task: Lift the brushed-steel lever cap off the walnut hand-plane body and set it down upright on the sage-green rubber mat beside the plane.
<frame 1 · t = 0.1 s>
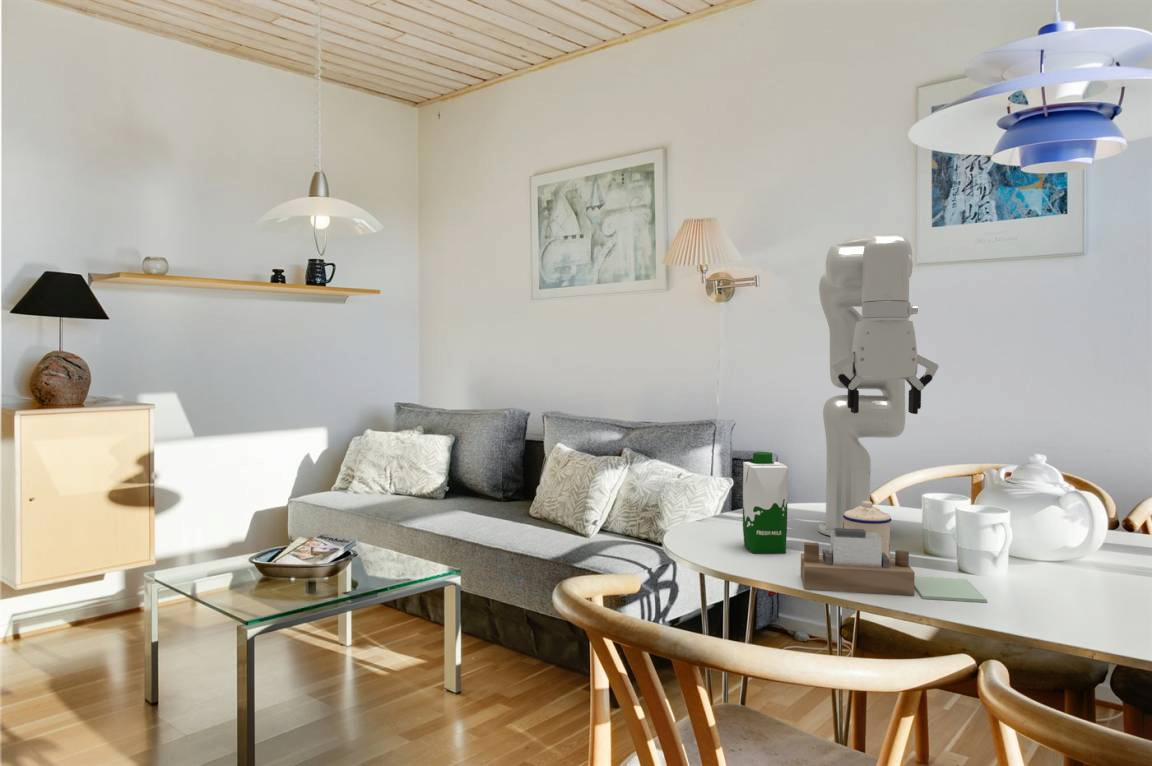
hand: (883, 413, 136), 31 cm above the table, tool pointing down, fingers open, 9 cm apart
teacup with lid: (861, 558, 160), on the table
mat: (945, 590, 138), on the table
milk carton: (764, 550, 167), on the table
plane body: (854, 584, 141), on the table
lever cap: (855, 562, 141), point 4 cm above the table, touching plane body
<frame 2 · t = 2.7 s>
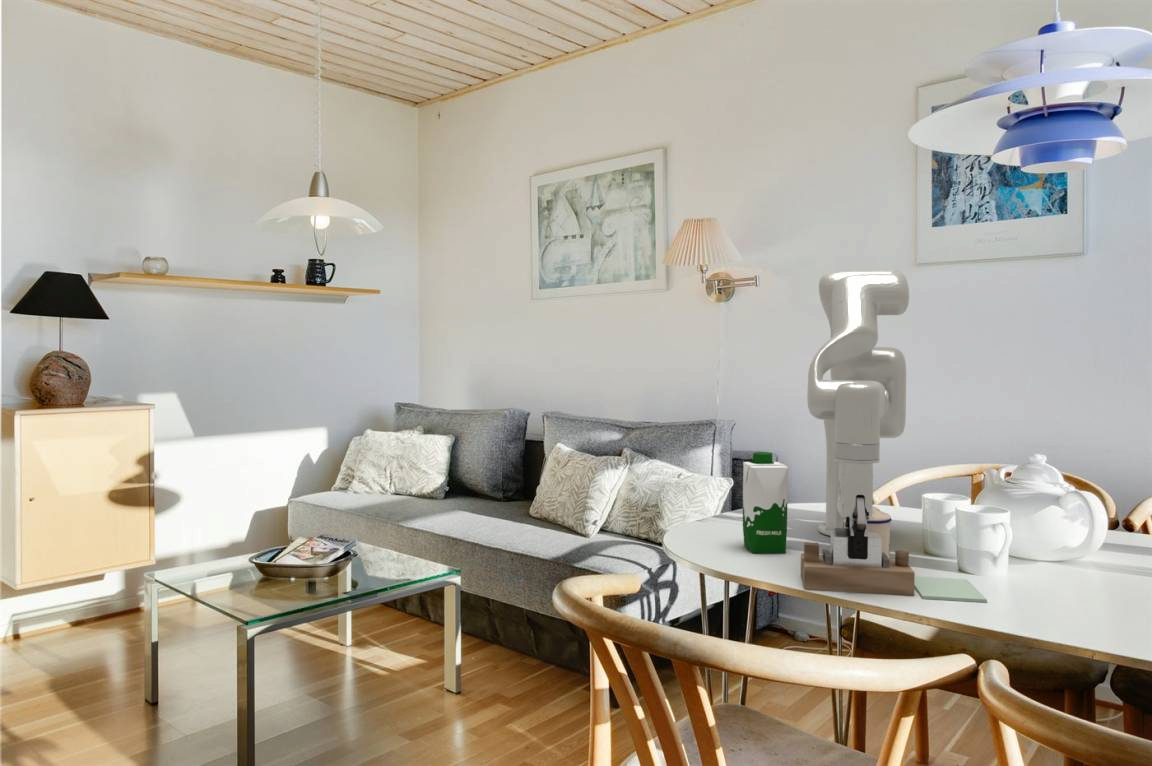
hand: (855, 553, 141), 6 cm above the table, tool pointing down, fingers closed on lever cap, 5 cm apart
lever cap: (855, 562, 141), point 4 cm above the table, touching gripper, plane body
everything else where it was.
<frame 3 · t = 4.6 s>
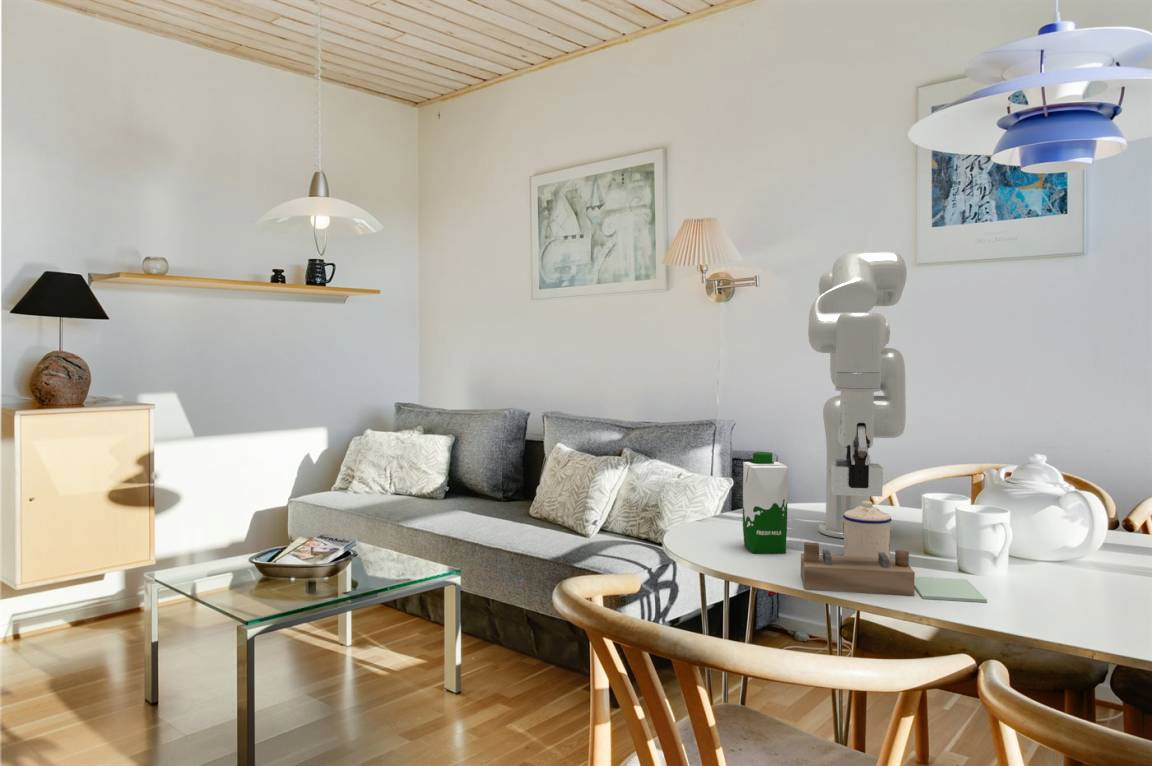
hand: (856, 483, 141), 18 cm above the table, tool pointing down, fingers closed on lever cap, 5 cm apart
lever cap: (856, 492, 141), point 16 cm above the table, touching gripper
everything else where it was.
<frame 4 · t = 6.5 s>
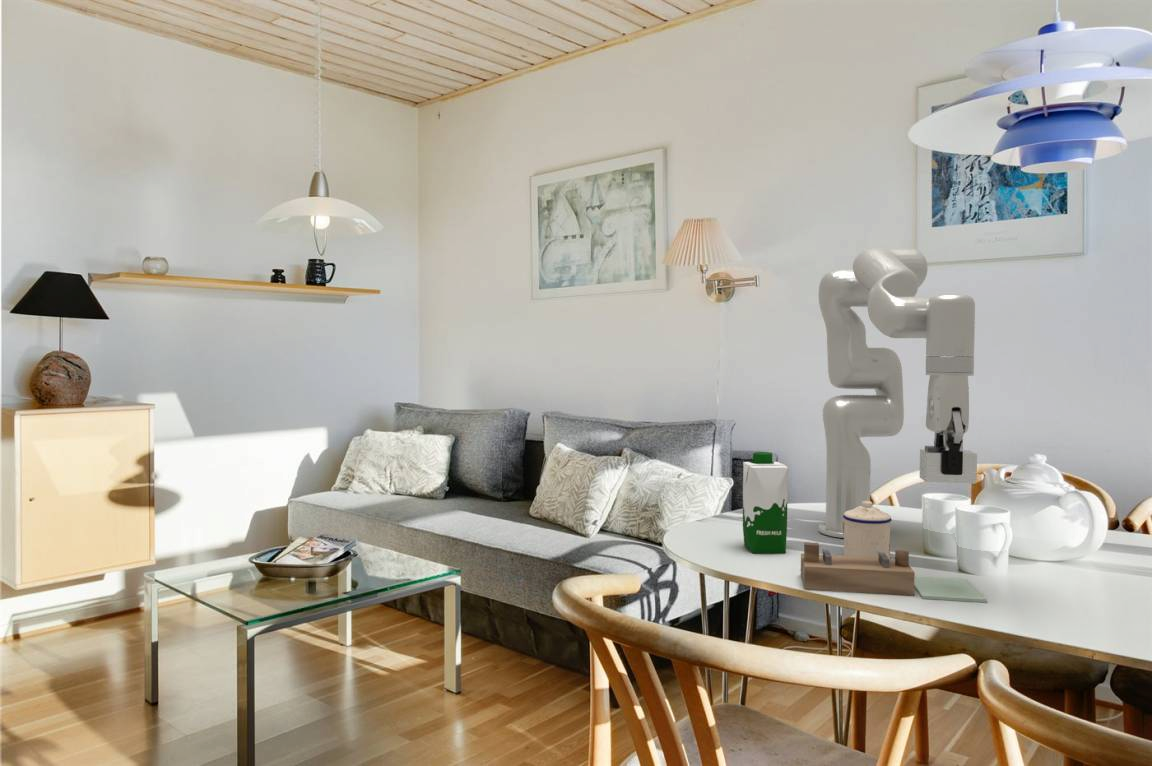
hand: (947, 470, 137), 21 cm above the table, tool pointing down, fingers closed on lever cap, 5 cm apart
lever cap: (947, 480, 137), point 19 cm above the table, touching gripper
everything else where it was.
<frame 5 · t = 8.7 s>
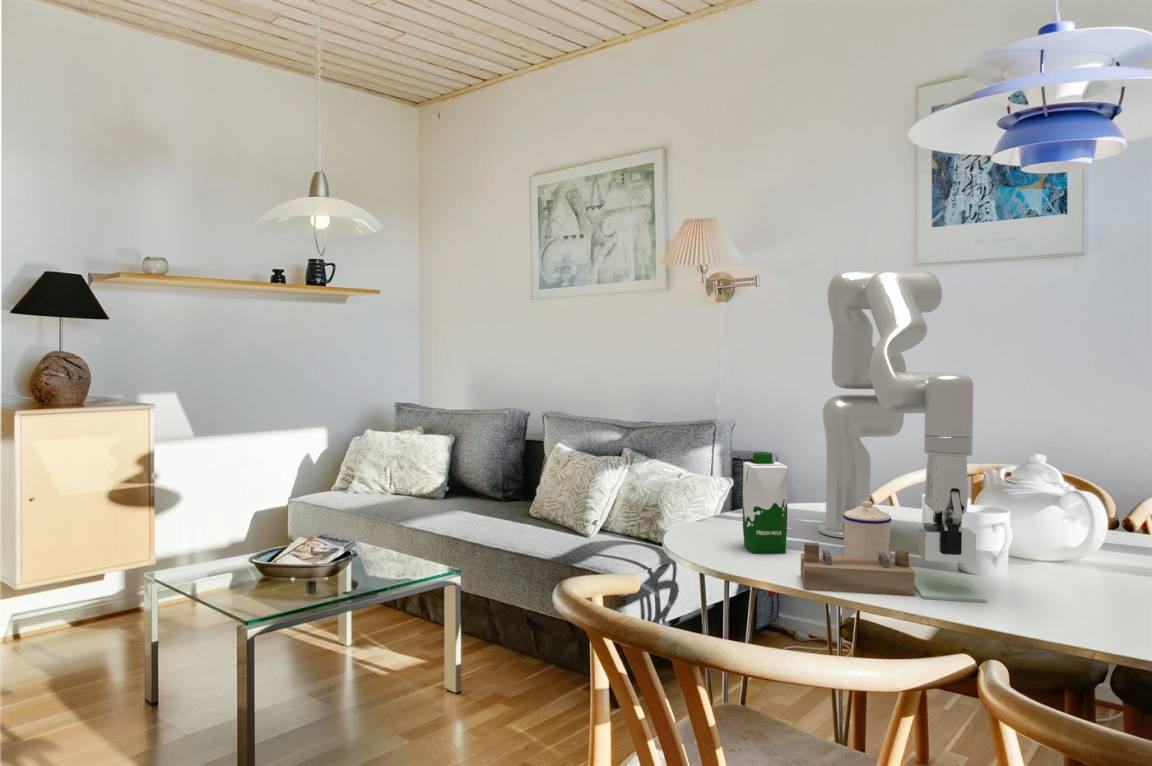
hand: (946, 549, 138), 7 cm above the table, tool pointing down, fingers closed on lever cap, 5 cm apart
lever cap: (946, 558, 138), point 6 cm above the table, touching gripper
everything else where it was.
when the fingers open (4 cm above the table, at t = 10.4 s): lever cap drops 1 cm, resting on mat.
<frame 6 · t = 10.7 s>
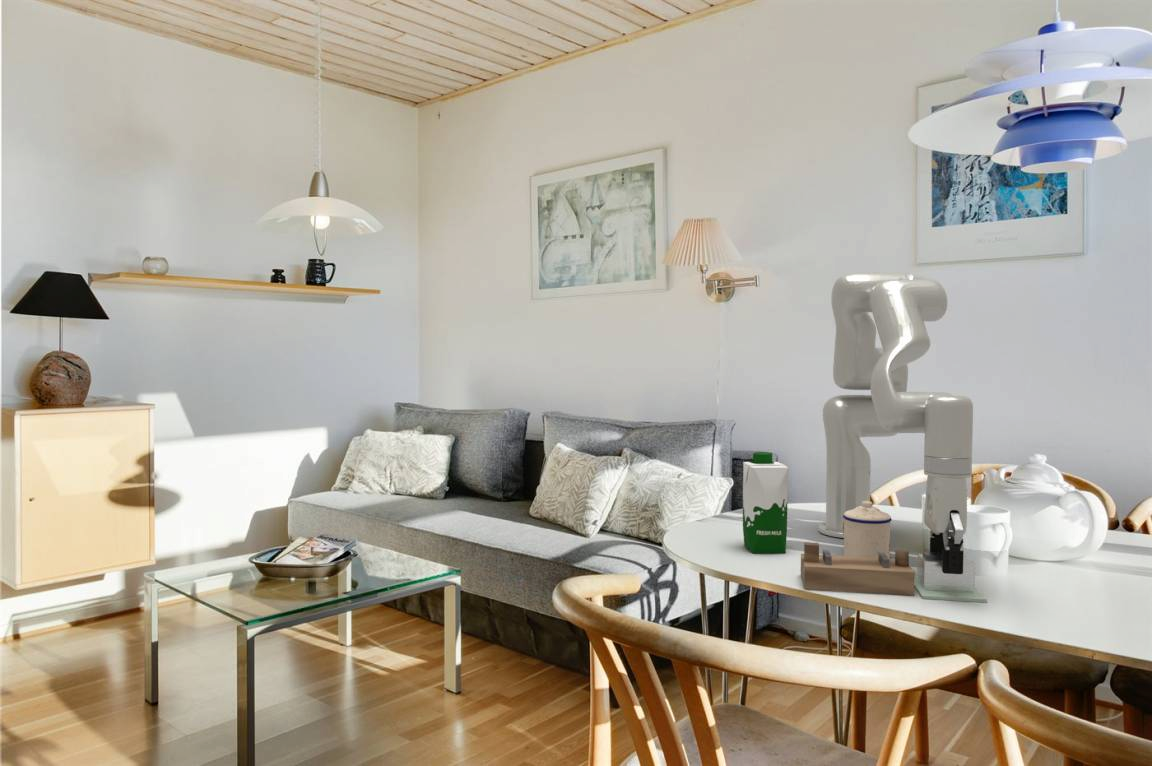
hand: (945, 566, 138), 4 cm above the table, tool pointing down, fingers open, 8 cm apart
lever cap: (945, 587, 138), resting on mat
everything else where it was.
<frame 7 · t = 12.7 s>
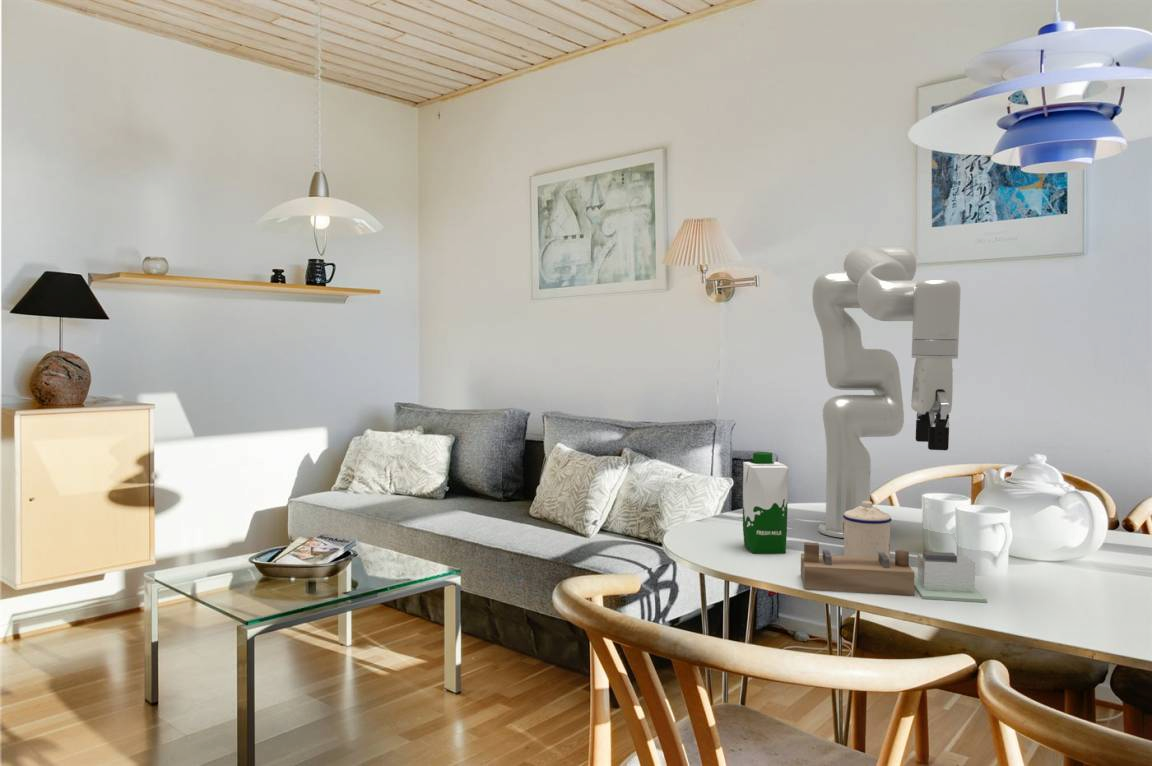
hand: (931, 445, 142), 25 cm above the table, tool pointing down, fingers open, 9 cm apart
nothing on the table moved.
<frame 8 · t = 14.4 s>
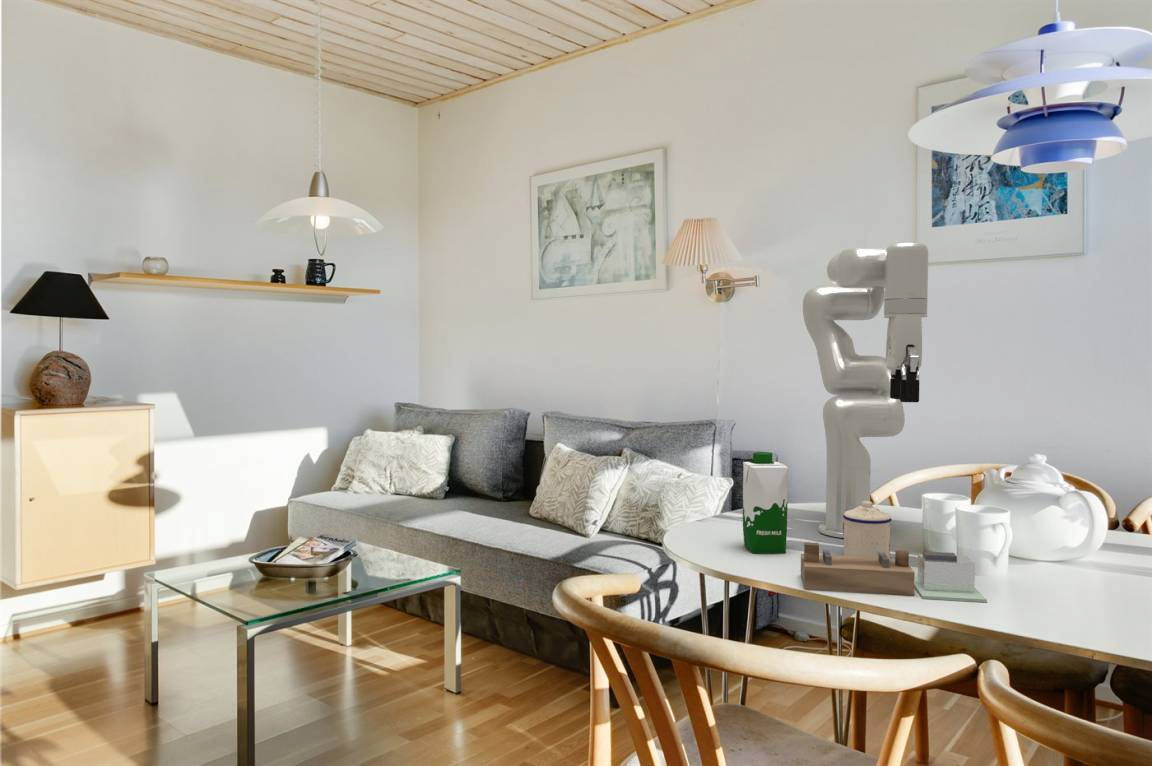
hand: (904, 400, 150), 32 cm above the table, tool pointing down, fingers open, 9 cm apart
nothing on the table moved.
at the end: lever cap inside the target area on the mat (0.0 cm from its centre), point 0.5 cm above the mat's base; lever cap tilted 0°; the gripper is holding nothing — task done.
